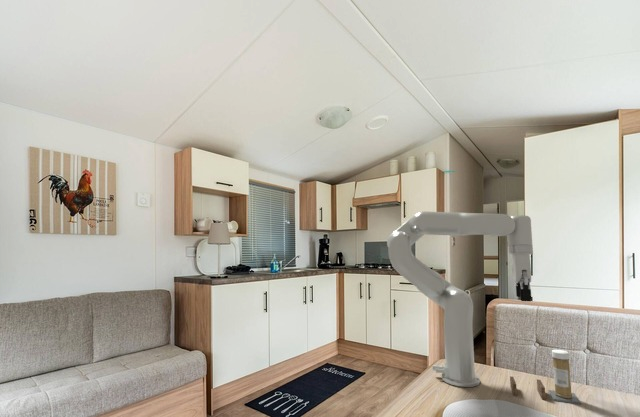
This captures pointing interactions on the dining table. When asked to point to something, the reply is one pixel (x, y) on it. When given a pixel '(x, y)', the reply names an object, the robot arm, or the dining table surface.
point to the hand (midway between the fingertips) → (523, 298)
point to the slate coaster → (560, 399)
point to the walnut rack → (539, 388)
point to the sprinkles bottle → (561, 373)
